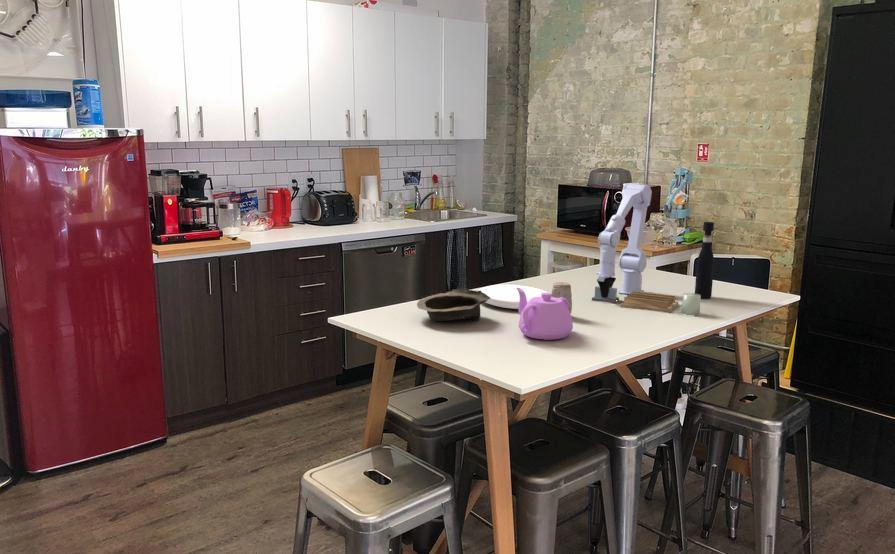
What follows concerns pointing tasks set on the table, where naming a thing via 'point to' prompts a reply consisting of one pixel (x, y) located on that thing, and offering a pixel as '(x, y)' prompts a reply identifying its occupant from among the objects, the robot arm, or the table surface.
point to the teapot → (544, 317)
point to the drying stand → (605, 299)
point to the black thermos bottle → (705, 264)
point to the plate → (509, 295)
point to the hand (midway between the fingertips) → (605, 296)
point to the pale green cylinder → (691, 304)
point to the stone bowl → (454, 305)
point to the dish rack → (650, 301)
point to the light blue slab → (611, 294)
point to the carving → (563, 292)
